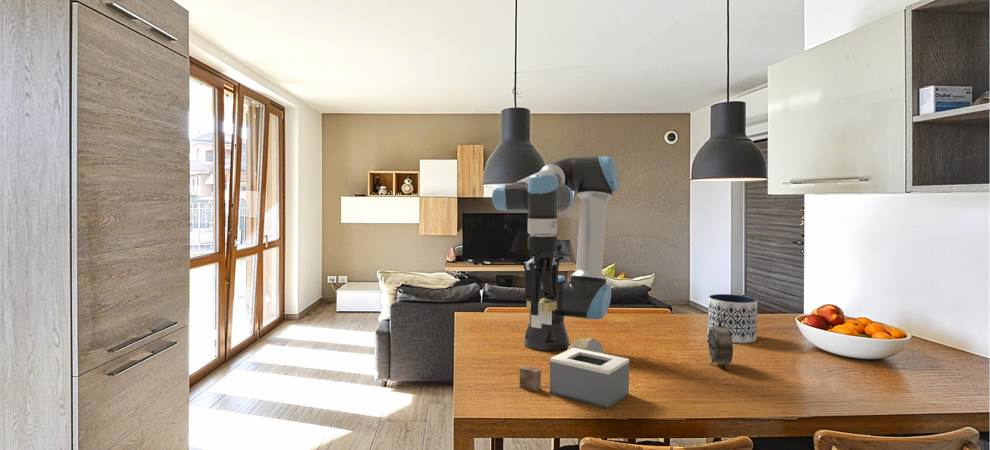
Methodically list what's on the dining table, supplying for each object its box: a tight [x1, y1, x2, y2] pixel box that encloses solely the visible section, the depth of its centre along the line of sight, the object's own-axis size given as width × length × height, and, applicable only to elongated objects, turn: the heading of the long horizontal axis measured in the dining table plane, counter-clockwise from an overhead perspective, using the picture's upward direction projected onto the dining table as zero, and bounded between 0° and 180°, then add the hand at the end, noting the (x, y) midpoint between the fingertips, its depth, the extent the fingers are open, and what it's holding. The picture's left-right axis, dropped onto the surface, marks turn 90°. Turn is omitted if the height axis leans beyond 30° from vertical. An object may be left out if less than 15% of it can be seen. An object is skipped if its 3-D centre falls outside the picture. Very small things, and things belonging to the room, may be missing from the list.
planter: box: [707, 293, 758, 344], centre depth 185 cm, size 16×16×14 cm
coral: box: [566, 337, 605, 354], centre depth 149 cm, size 10×10×10 cm
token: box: [526, 299, 556, 312], centre depth 132 cm, size 6×4×2 cm, turn 51°
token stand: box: [519, 365, 542, 392], centre depth 134 cm, size 5×2×5 cm, turn 52°
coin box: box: [549, 348, 630, 410], centre depth 130 cm, size 16×12×9 cm
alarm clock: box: [706, 312, 734, 372], centre depth 153 cm, size 11×5×16 cm, turn 170°
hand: (541, 325), depth 133 cm, fingers closed on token, 4 cm apart
